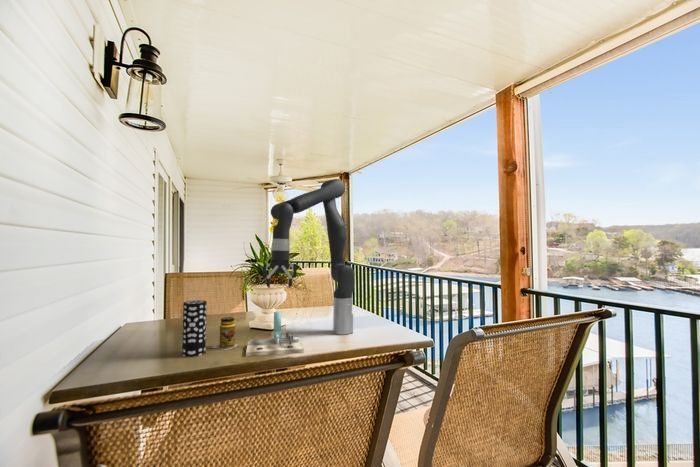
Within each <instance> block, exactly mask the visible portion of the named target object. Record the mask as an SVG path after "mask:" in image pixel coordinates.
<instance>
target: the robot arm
mask: <svg viewBox="0 0 700 467" xmlns="http://www.w3.org/2000/svg"><path fill="white" fill-rule="evenodd" d="M345 191H346V185H345V184H344V182H343V181H342V180H341V179H337V178H333V179H330V180H326V181H324V182H322V183H321V186H320V188H317V189H315V190H312V191H308V192H304V193H302V194H300V195H297V196H295V197H293V198H291V199H289V200H288V199H287V200H285V201H281V202H279V203H276V204H274V205H273V206H272V207H271V210H270V215H271V217H272V218H273V219H274V220H277V223H276V225H274V226H273V229H272V241H271V249H270V250H271V254H270V255H271V256H270V258H271V259H270V260H271V261H270V263H267V262H264V263H263V264H262V274H261V275H262V278H265V279H266V287H267V288H268V289H270V288H271V277H272V276H273V274H274V273H275V274H283V275H284V274H286V276H287V277H288V288H289V289H290V288H291V287H292V286H293V279H295V278H297V264H296V263H290V249H291V248H290V244H291V243H290V230H291V226H292V223H293V219H294V214H298V213H301V212H303V211H304V212H305V211H306V210H308V209H310V208H312V207H315V206H316V205H319V204H321V203H322V205H323V209H324V215H325V221H326V222H325V223H326V231H327V239H328V240H327V241H328V245H329V253H330V254H329V255H330V275H331V278H332V280H333V281H334V282H335V283H337V285H336V289H335V290H334V291H333V299H332V300H333V307H332V308H333V310H332V311H333V312H332V313H333V314H332V315H333V316H332V318H333V319H332V320H333V321H332V323H333V324H332V326H333V327H332V331H333V332H332V333H333V334H336V335H350V334H353V333H354V313H353V294H354V290H355V271H354V268H353V267H352V266H351V265H349V264H346V263H345V253H344V252H345V247H346V243H347V238H348V237H347V229H346V222H345V221H344V219H343V217H342V216H341V214H340V212H339V210H338V209H337V208H338V207H337V203H336V199H338V198H340V197H342V196H343V195H344V194H345ZM269 267H270V268H271V271H270V272H269V273H268V274H266V273H267V269H268V268H269ZM290 267H291V269H292V271H293V274H292V275H291V273H290V272H289V270H288V269H289V268H290Z"/></svg>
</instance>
